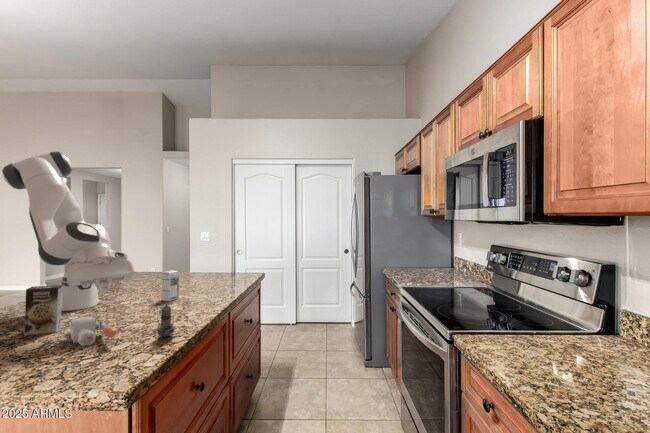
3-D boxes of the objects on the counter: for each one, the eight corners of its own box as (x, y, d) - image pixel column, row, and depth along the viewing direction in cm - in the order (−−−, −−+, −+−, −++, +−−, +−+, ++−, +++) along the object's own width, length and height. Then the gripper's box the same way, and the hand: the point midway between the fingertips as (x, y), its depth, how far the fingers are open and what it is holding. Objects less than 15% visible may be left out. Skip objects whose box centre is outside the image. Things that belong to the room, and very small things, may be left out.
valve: (68, 333, 115) (69, 316, 115) (93, 328, 120) (93, 312, 120) (75, 348, 102) (75, 329, 102) (103, 342, 107) (103, 324, 107)
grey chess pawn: (160, 335, 114) (161, 301, 114) (177, 335, 114) (178, 301, 114) (153, 341, 108) (153, 305, 108) (171, 341, 108) (171, 305, 109)
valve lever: (97, 321, 115) (107, 330, 102) (105, 320, 116) (117, 328, 103) (97, 330, 114) (107, 339, 101) (105, 328, 116) (117, 337, 103)
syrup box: (169, 301, 160) (170, 272, 161) (160, 300, 163) (161, 271, 163) (178, 298, 166) (179, 270, 166) (170, 297, 168) (170, 270, 168)
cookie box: (23, 336, 112) (24, 289, 112) (30, 330, 117) (31, 286, 118) (56, 332, 116) (57, 287, 116) (61, 326, 122) (62, 284, 122)
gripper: (65, 257, 113) (68, 289, 105) (131, 253, 127) (138, 281, 120) (63, 268, 116) (66, 300, 109) (128, 263, 130) (135, 291, 123)
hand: (104, 290), depth 114 cm, fingers closed
